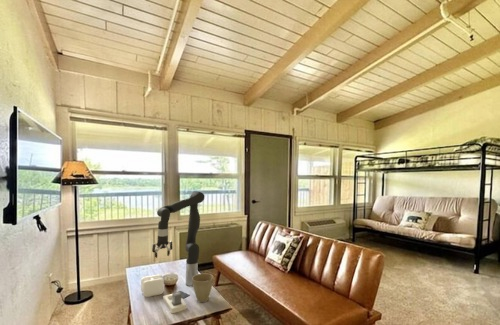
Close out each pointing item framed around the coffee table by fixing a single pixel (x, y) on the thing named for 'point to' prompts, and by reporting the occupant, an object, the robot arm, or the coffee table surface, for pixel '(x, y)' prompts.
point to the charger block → (176, 298)
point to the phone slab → (183, 294)
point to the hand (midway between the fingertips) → (162, 256)
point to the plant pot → (202, 286)
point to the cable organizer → (152, 285)
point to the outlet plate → (168, 302)
